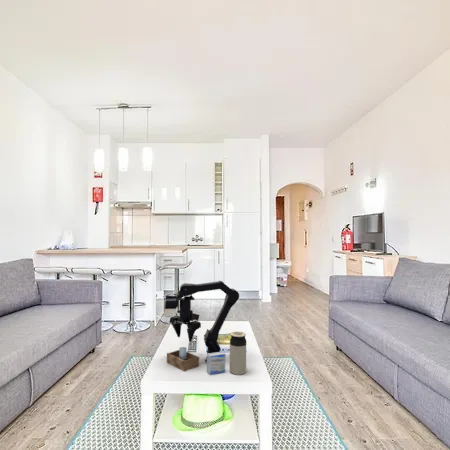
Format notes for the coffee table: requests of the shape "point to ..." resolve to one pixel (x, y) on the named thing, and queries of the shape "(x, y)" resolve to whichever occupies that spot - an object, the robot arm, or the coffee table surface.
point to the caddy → (190, 361)
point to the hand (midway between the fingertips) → (184, 339)
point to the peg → (182, 353)
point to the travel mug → (238, 353)
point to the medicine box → (215, 363)
